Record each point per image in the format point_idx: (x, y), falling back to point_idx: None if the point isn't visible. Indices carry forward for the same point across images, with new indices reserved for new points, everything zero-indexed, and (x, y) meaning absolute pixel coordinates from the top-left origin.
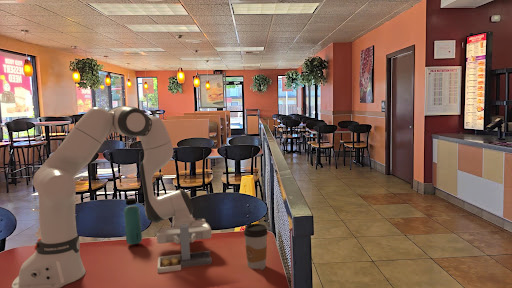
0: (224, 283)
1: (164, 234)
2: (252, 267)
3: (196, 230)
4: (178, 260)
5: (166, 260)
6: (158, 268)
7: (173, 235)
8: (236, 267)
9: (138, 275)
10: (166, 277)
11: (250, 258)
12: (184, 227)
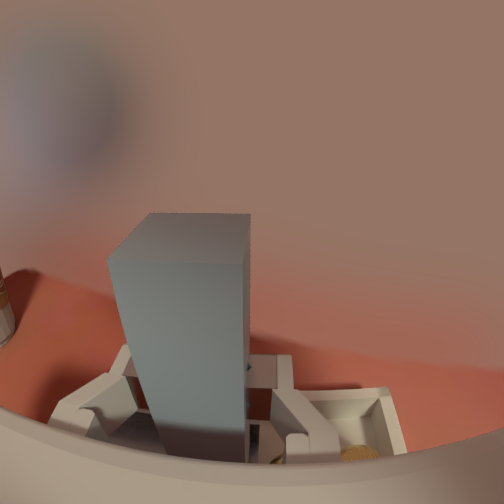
0: None
1: (463, 441)
2: (12, 312)
3: (12, 421)
4: (272, 460)
5: (355, 447)
6: (383, 388)
7: (340, 460)
8: (29, 362)
9: (464, 418)
10: (332, 388)
11: (4, 284)
12: (193, 215)
